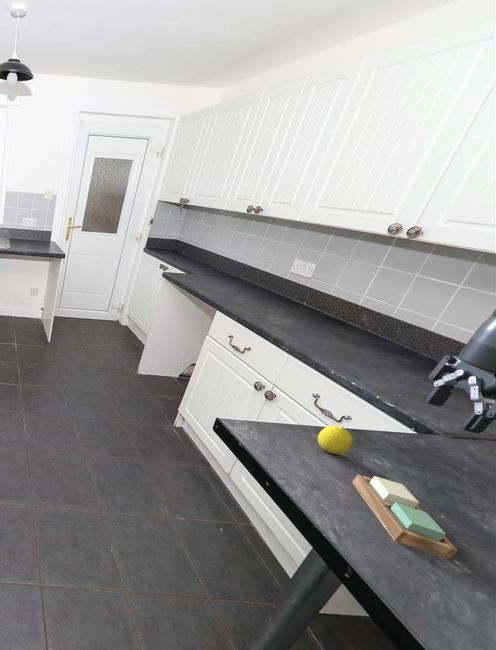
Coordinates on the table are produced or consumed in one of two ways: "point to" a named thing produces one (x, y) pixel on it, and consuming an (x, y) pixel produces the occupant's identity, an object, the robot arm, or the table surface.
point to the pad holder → (395, 528)
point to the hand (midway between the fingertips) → (450, 416)
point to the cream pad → (393, 492)
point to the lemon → (335, 439)
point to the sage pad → (417, 521)
